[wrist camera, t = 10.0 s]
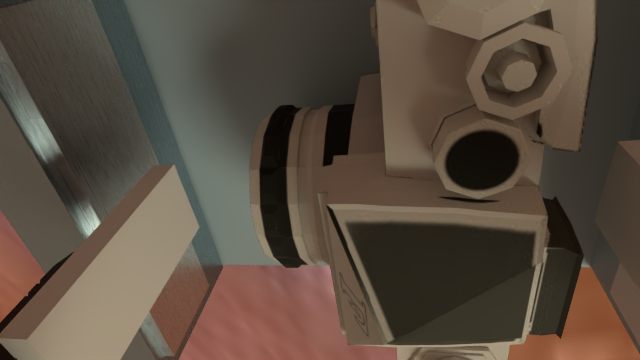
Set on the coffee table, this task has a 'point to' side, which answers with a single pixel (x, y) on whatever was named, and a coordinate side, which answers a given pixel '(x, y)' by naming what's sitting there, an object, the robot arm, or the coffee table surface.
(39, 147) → the sliding jaw
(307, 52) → the vise
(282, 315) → the coffee table surface
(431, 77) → the camera
